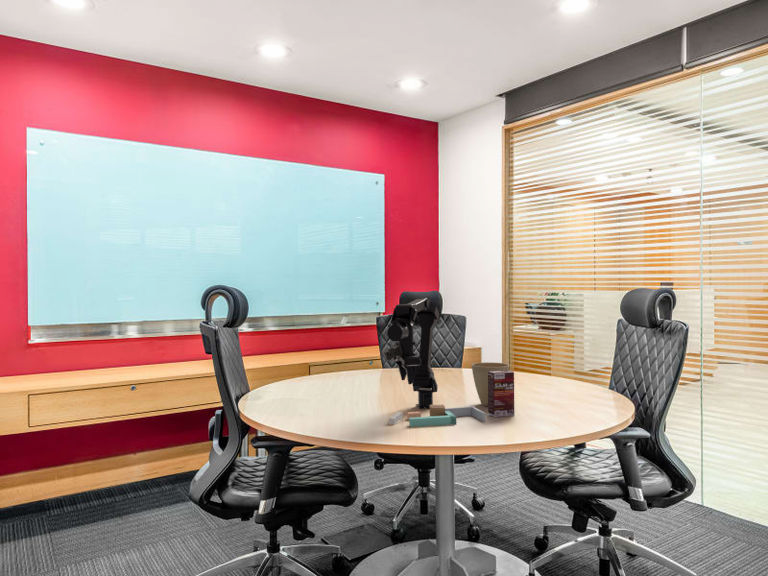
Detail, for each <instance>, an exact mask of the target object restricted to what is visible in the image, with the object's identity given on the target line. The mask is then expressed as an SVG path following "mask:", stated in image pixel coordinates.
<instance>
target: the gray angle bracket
mask: <svg viewBox="0 0 768 576" xmlns="http://www.w3.org/2000/svg"><path fill="white" fill-rule="evenodd" d="M445 411H450V412H451V413H452V414H454V415H455V416H456V418H458V417H468V416H470V417H471V416H472V417H474V418H475V417H476V419H477V420H479V421H481V422H482V421H483V422H486V412H484V411H482V410H481V409H479V408H476V407H475V406H473V405H469V406H461V407H447V408H446V407H445Z"/></svg>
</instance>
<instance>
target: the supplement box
mask: <svg viewBox="0 0 768 576" xmlns="http://www.w3.org/2000/svg"><path fill="white" fill-rule="evenodd" d="M487 414H488V415H489V416H490V417H492V418H499V417H510V416H511V417H512V416H515V371H511V370H509V371H508V370H507V371H491V372H488V406H487Z"/></svg>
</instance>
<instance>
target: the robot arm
mask: <svg viewBox="0 0 768 576" xmlns="http://www.w3.org/2000/svg"><path fill="white" fill-rule="evenodd" d="M416 318H417V323H418V325H419V328H420V341H419V342H420V343H419V344H420V345H419V353H418V354H419V355H416V353H415V350H414V348H415V345H416V341H415V339H414V335H415V334H414V326H415V320H416ZM439 319H440V312H439V309H438V306H437V305H435V304H434V303H433V302H431V301H430V299H429V298H428V297H418V298H415V300H412V301H410V302H409V303H404V304H402V303H399V304H396V305H395V307H394V309H393V312H392V316H391V319H390V324H391V325H390V326H389V327H388V329H387V331H386V334H387V335H386V336H387V338H388V339H389V340H390V341H392V342H395V345H394V346H391V347H390V348H389V347H388V348H387V349H384V350H382V351H381V352H382V353H381V354H382V356H383V358H384V360H385V361H387V362H388V361H390V360H392V361H393V363H394V364H396V365H397V367H398V372H399V375H400V379H401V381H405V380H406V378H407V382H408V383H407V384H408V385H412V389H413V390H412V391H413V392H417V393H418V395H417V397H418V398H417V399H418V403H416V404H415V406H416V407H417V408H419V409H430V405H434V395H433V393H437V392H438V387H439V386H438V384H437V381H436V378H435V373H434V371H433V368H432V367H431V363H432V349H433V334H434V332H433V331H434V329H435V328H436V327H437V326H438V323H439Z"/></svg>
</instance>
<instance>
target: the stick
mask: <svg viewBox="0 0 768 576" xmlns="http://www.w3.org/2000/svg"><path fill="white" fill-rule="evenodd" d="M403 413H404V412H403V411H401V412H400V411H396V412H395V413H393V414H391V416H390V417H388V425H389V424H395V425H396V424H398V423H399V422H400V421H401V420H403V419H404V414H403ZM399 420H400V421H399ZM398 421H399V422H398ZM397 422H398V423H397Z"/></svg>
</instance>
